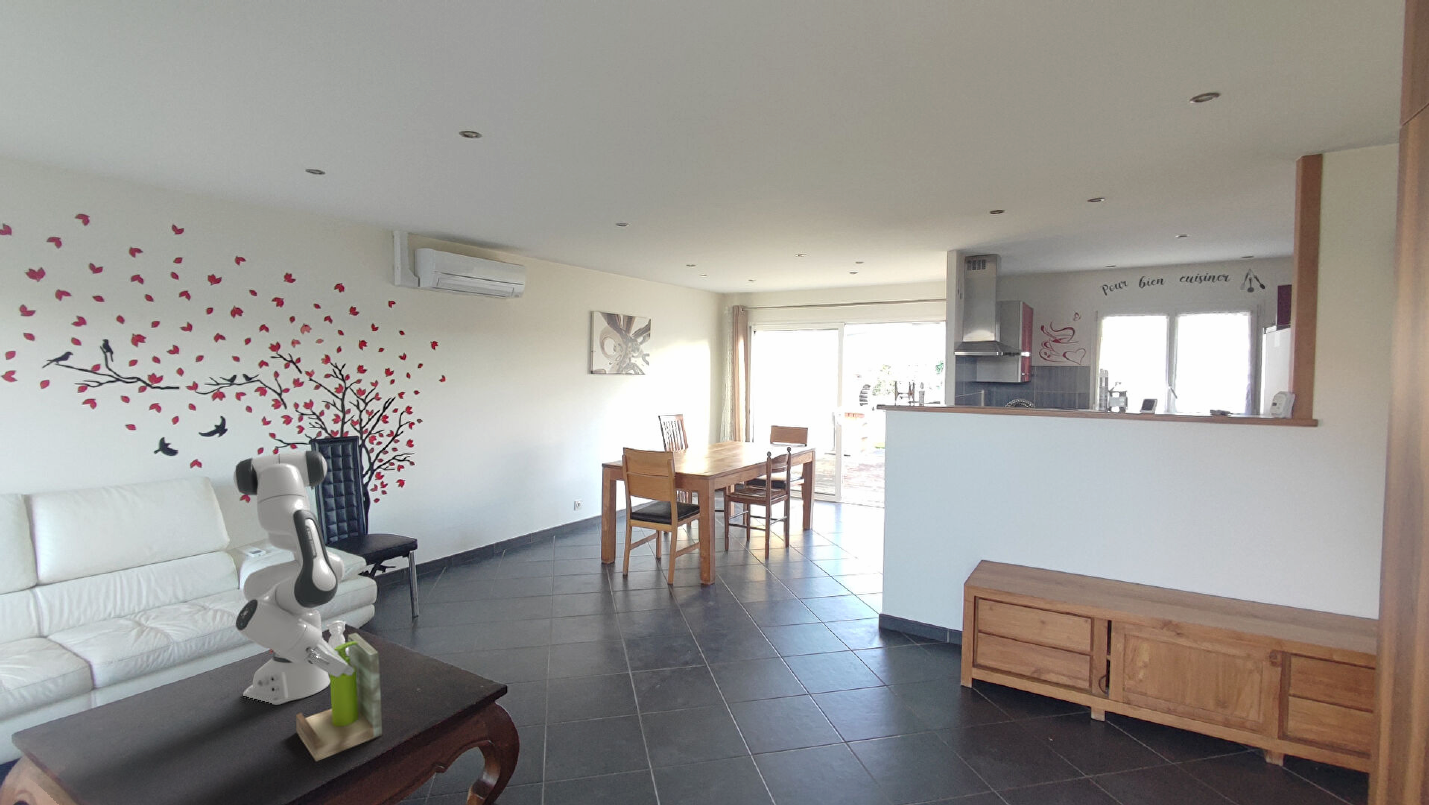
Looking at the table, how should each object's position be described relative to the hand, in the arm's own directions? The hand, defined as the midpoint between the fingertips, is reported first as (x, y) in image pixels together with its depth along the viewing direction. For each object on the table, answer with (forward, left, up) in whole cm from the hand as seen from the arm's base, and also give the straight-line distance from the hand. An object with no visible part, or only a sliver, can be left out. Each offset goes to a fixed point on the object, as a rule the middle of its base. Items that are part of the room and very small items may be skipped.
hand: (347, 667), depth 165 cm
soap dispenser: (0, -1, -14) cm, 14 cm away
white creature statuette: (-35, +37, -17) cm, 54 cm away
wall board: (-1, -2, -17) cm, 17 cm away
